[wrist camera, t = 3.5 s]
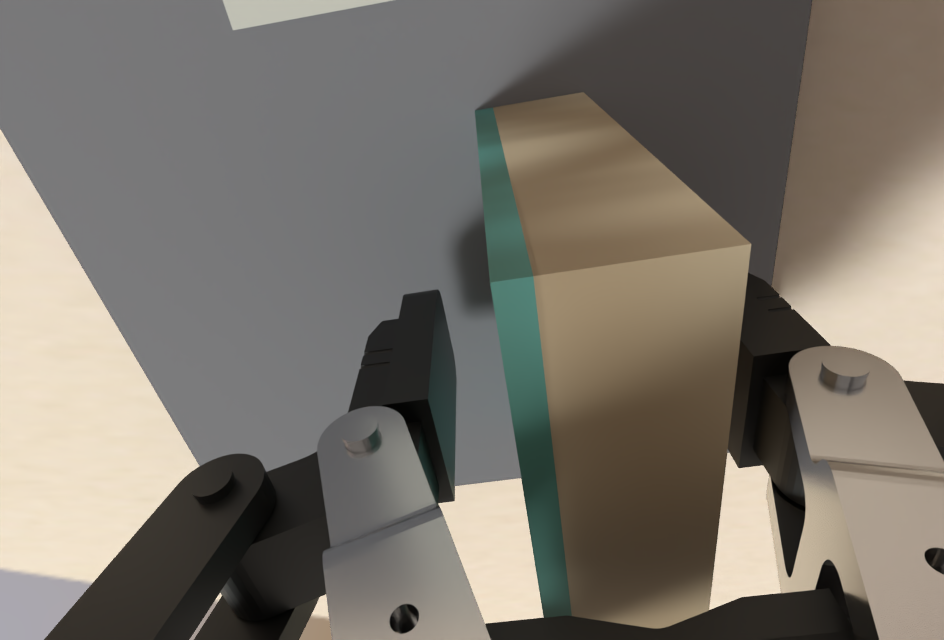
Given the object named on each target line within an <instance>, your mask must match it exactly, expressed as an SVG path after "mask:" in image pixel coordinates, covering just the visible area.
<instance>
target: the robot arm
mask: <svg viewBox="0 0 944 640" xmlns="http://www.w3.org/2000/svg"><path fill="white" fill-rule="evenodd" d="M456 384H457V378H456V366H455V358H454V352H453V348H452V343H451V338H450V334H449V329H448V324H447V320H446V315H445V311H444V306H443V301H442V297H441V294H440V291H439V290H438V289H437V290H430V291H423V292H416V293H410V294H404V295H403V298H402V304H401V309H400V314H399V319H393V320H386V321H382V322H381V323H380V324H379V325H378V326H377V327H376V328H375V329H374V331H373V332H372V333H371V334H370V335H369V336H368V340H367V343H366V347H365V351H364V355H363V358H362V362H361V369H359V373H358V377H357V380H356V384H355V388H354V391H353V395H352V399H351V403H350V406H349V410H348V413H346V414H344V415H342V416H341V417H339V418H338V419H336V420H335V421H333V422H332V423H331V424H330V425H329V426H328V427H327V428H326V429H325V430H324V432H323V433H322V435H321V436H320V439H319V441H318V445H317V452H315V453H313V454H311V455H309V456H307V457H304V458H302V459H300V460H297V461H294V462H292V463H289V464H286V465H283V466H281V467H278V468H275V469H273V470H270V471H267V472H266V470H265V468H264V466H263V464H262V463H261V461H260V460H259V459H258V458H256V457H255V456H252V455H249V454H229V455H225V456H221V457H219V458H216V459H213V460H211V461H209V462H207V463H205V464H203V465H201V466H200V467H198V468H197V469H195V470H194V471H192V472H191V473H190V474H188V475H187V476H186V477H185V478H184V479H183V480H182V481H181V482H180V483H179V484H178V485H177V486H176V487H175V489H174V490H173V491H172V492H171V493H170V494H169V495H168V497H167V498H166V499H165V500H164V501H163V502H162V504H161V505H160V506H159V507H158V508H157V509H156V511H155V512H154V513H153V514H152V515H151V516H150V518H149V519H148V520H147V521H146V522H145V523H144V524H143V526H142V527H141V528H140V529H139V530H138V531H137V533H136V534H135V535H134V536H133V537H132V538H131V540H130V541H129V542H128V543H127V544H126V545H125V546H124V548H123V549H122V550H121V551H120V552H119V553H118V555H117V556H116V557H115V558H114V559H113V560H112V562H111V563H110V564H109V565H108V566H107V567H106V568H105V570H104V571H103V572H102V573H101V574H100V575H99V577H98V578H97V579H96V580H95V581H94V582H93V584H92V585H91V586H90V587H89V588H88V589H87V590H86V592H85V593H84V594H83V595H82V596H81V597H80V599H79V600H78V601H77V602H76V603H75V604H74V606H73V607H72V608H71V609H70V610H69V611H68V613H67V614H66V615H65V616H64V617H63V618H62V619H61V621H60V622H59V623H58V624H57V625H56V627H55V628H54V629H53V630H52V631H51V632H50V633H49V635H48V636H47V637H46V638H45V639H44V640H189V639H190V638H191V636H192V635H193V633H194V631H195V630H196V628H197V627H198V625H199V624H200V622H201V621H202V619H203V618H204V616H205V615H206V613H207V611H208V610H209V608H210V607H211V605H212V604H213V602H214V601H215V599H216V598H217V596H218V595H219V593H221V594H222V597H221V599H220V600H219V602H218V603H217V605H216V606H215V608H214V609H213V611H212V612H211V614H210V616H209V617H208V619H207V620H206V622H205V623H204V625H203V626H202V628H201V630H200V631H199V633H198V634H197V636H196V637H195V639H194V640H299V638H300V636H301V634H302V632H303V630H304V628H305V626H306V624H307V622H308V620H309V618H310V616H311V614H312V612H313V610H314V608H315V606H316V604H317V601H318V599H319V597H320V596H323V595H325V594H326V595H327V604H328V612H329V620H330V628H331V635H332V640H944V384H941V383H927V382H913V381H904V380H903V379H902V377H901V376H900V374H899V372H898V371H897V370H896V369H895V368H894V367H893V366H891V365H890V364H889V363H887V362H886V361H884V360H882V359H881V358H879V357H877V356H874V355H872V354H870V353H867V352H864V351H861V350H857V349H853V348H847V347H840V346H831V345H830V344H829V343H828V342H827V341H826V340H825V339H824V338H823V337H822V336H821V335H820V334H819V333H818V332H817V331H816V330H815V329H814V328H813V327H812V326H811V325H810V324H809V323H808V322H807V321H805V320H804V319H803V318H802V317H801V316H800V315H799V314H798V313H797V312H796V311H795V310H794V309H793V310H792V309H791V306H790V305H789V304H788V303H787V302H786V301H785V300H784V299H783V298H782V297H780V298H779V294H778V293H777V292H776V291H775V290H774V289H773V288H772V287H771V286H770V285H769V284H768V283H767V282H766V281H765V280H763V279H761V278H759V277H756V276H754V275H752V274H750V273H748V277H747V286H746V295H745V303H744V312H743V320H742V329H741V338H740V346H739V355H738V363H737V372H736V381H735V389H734V398H733V407H732V415H731V424H730V432H729V441H728V450H729V452H730V454H731V456H732V457H733V459H734V461H735V463H736V464H737V466H738V468H743V467H752V466H760V465H764V467H765V469H766V470H767V472H768V473H769V480H768V485H767V502H768V509H769V515H770V522H771V529H772V535H773V542H774V549H775V555H776V562H777V569H778V575H779V582H780V589H781V593H779V594H769V595H760V596H750V597H741V598H739V599H736V600H734V601H731V602H729V603H726V604H724V605H721V606H719V607H716V608H714V609H711V610H709V611H706V612H704V613H701V614H699V615H696V616H694V617H691V618H689V619H686V620H684V621H681V622H679V623H676V624H674V625H671V626H668V627H665V628H658V629H656V628H646V627H640V626H633V625H627V624H620V623H614V622H607V621H601V620H594V619H588V618H581V617H575V616H568V615H566V616H556V617H546V618H537V619H527V620H517V621H508V622H498V623H488V624H485V623H484V620H483V618H482V615H481V613H480V610H479V607H478V605H477V602H476V599H475V597H474V594H473V592H472V589H471V586H470V584H469V581H468V579H467V576H466V573H465V571H464V568H463V565H462V563H461V560H460V558H459V555H458V552H457V550H456V547H455V545H454V542H453V539H452V537H451V534H450V531H449V529H448V526H447V524H446V521H445V518H444V516H443V513H442V511H441V509H440V507H439V505H438V503H443V502H451V501H455V442H456ZM485 625H486V626H485Z"/></svg>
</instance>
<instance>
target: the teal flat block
mask: <svg viewBox="0 0 944 640" xmlns="http://www.w3.org/2000/svg"><path fill="white" fill-rule="evenodd" d="M475 120H476V131H477V142H478V154H479V165H480V176H481V187H482V199H483V210H484V221H485V232H486V244H487V255H488V266H489V277H490V286H491V292H492V298H493V305H494V311H495V317H496V323H497V329H498V336H499V342H500V348H501V354H502V360H503V367H504V373H505V379H506V385H507V392H508V398H509V404H510V410H511V416H512V423H513V429H514V435H515V441H516V448H517V454H518V460H519V466H520V472H521V479H522V485H523V491H524V497H525V503H526V510H527V516H528V522H529V528H530V535H531V541H532V547H533V553H534V559H535V566H536V572H537V578H538V584H539V590H540V597H541V603H542V609H543V615H544V618H546V617H556V616H566V615H568V616H575V617H581V618H588V619H594V620H601V621H607V622H614V623H620V624H627V625H633V626H640V627H646V628H656V629H658V628H665V627H668V626H671V625H674V624H676V623H679V622H681V621H684V620H686V619H689V618H691V617H694V616H696V615H699V614H701V613H704V612H706V611H709V605H710V596H711V587H712V579H713V570H714V562H715V553H716V544H717V536H718V527H719V519H720V510H721V501H722V493H723V484H724V475H725V467H726V458H727V450H728V441H729V432H730V424H731V415H732V407H733V398H734V389H735V381H736V372H737V363H738V355H739V346H740V338H741V329H742V320H743V312H744V303H745V295H746V286H747V277H748V269H749V260H750V251H751V243H750V242H749V241H748V240H746V239H745V238H744V237H743V236H742V235H741V234H740V233H739V232H738V231H736V230H735V229H734V228H733V227H732V226H731V225H730V224H729V223H728V222H726V221H725V220H724V219H723V218H722V217H721V216H720V215H719V214H718V213H717V212H715V211H714V210H713V209H712V208H711V207H710V206H709V205H708V204H707V203H705V202H704V201H703V200H702V199H701V198H700V197H699V196H698V195H697V194H696V193H694V192H693V191H692V190H691V189H690V188H689V187H688V186H687V185H686V184H684V183H683V182H682V181H681V180H680V179H679V178H678V177H677V176H676V175H675V174H673V173H672V172H671V171H670V170H669V169H668V168H667V167H666V166H665V165H663V164H662V163H661V162H660V161H659V160H658V159H657V158H656V157H655V156H653V155H652V154H651V153H650V152H649V151H648V150H647V149H646V148H645V147H644V146H642V145H641V144H640V143H639V142H638V141H637V140H636V139H635V138H634V137H632V136H631V135H630V134H629V133H628V132H627V131H626V130H625V129H624V128H623V127H621V126H620V125H619V124H618V123H617V122H616V121H615V120H614V119H613V118H611V117H610V116H609V115H608V114H607V113H606V112H605V111H604V110H603V109H602V108H600V107H599V106H598V105H597V104H596V103H595V102H594V101H593V100H592V99H590V98H589V97H588V96H587V95H586V94H585V93H584V92H581V93H575V94H569V95H563V96H557V97H551V98H546V99H540V100H534V101H528V102H522V103H516V104H510V105H505V106H499V107H493V108H487V109H481V110H475Z"/></svg>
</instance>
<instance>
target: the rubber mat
mask: <svg viewBox="0 0 944 640" xmlns="http://www.w3.org/2000/svg"><path fill="white" fill-rule="evenodd" d="M811 5H812V0H0V129H1V130H2V132H3V134H4V136H5V137H6V139H7V141H8V142H9V144H10V146H11V147H12V149H13V151H14V152H15V154H16V156H17V158H18V159H19V161H20V163H21V164H22V166H23V168H24V169H25V171H26V173H27V174H28V176H29V178H30V180H31V181H32V183H33V185H34V186H35V188H36V190H37V191H38V193H39V195H40V197H41V198H42V200H43V202H44V203H45V205H46V207H47V208H48V210H49V212H50V213H51V215H52V217H53V219H54V220H55V222H56V224H57V225H58V227H59V229H60V230H61V232H62V234H63V235H64V237H65V239H66V241H67V242H68V244H69V246H70V247H71V249H72V251H73V252H74V254H75V256H76V257H77V259H78V261H79V263H80V264H81V266H82V268H83V269H84V271H85V273H86V274H87V276H88V278H89V279H90V281H91V283H92V285H93V286H94V288H95V290H96V291H97V293H98V295H99V296H100V298H101V300H102V301H103V303H104V305H105V307H106V308H107V310H108V312H109V313H110V315H111V317H112V318H113V320H114V322H115V324H116V325H117V327H118V329H119V330H120V332H121V334H122V335H123V337H124V339H125V340H126V342H127V344H128V346H129V347H130V349H131V351H132V352H133V354H134V356H135V357H136V359H137V361H138V362H139V364H140V366H141V368H142V369H143V371H144V373H145V374H146V376H147V378H148V379H149V381H150V383H151V384H152V386H153V388H154V390H155V391H156V393H157V395H158V396H159V398H160V400H161V401H162V403H163V405H164V406H165V408H166V410H167V412H168V413H169V415H170V417H171V418H172V420H173V422H174V423H175V425H176V427H177V428H178V430H179V432H180V434H181V435H182V437H183V439H184V440H185V442H186V444H187V445H188V447H189V449H190V450H191V452H192V454H193V456H194V457H195V459H196V461H197V462H198V464H199V466H201V465H203V464H205V463H207V462H209V461H211V460H213V459H216V458H219V457H221V456H225V455H229V454H249V455H252V456H255V457H256V458H258V459H259V460H260V461H261V463H262V464H263V466H264V468H265V470H266V472H267V471H270V470H273V469H275V468H278V467H281V466H283V465H286V464H289V463H292V462H294V461H297V460H300V459H302V458H304V457H307V456H309V455H311V454H313V453H315V452H317V445H318V441H319V439H320V436H321V435H322V433H323V432H324V430H325V429H326V428H327V427H328V426H329V425H330V424H331V423H332V422H333V421H335V420H336V419H338V418H339V417H341V416H342V415H344V414H346V413H348V410H349V406H350V403H351V399H352V395H353V391H354V388H355V384H356V380H357V377H358V373H359V369H361V362H362V358H363V355H364V351H365V347H366V343H367V340H368V336H369V335H370V334H371V333H372V332H373V331H374V329H375V328H376V327H377V326H378V325H379V324H380V323H381V322H382V321H386V320H393V319H399V314H400V309H401V304H402V298H403V295H404V294H410V293H416V292H423V291H430V290H437V289H438V290H439V291H440V294H441V297H442V301H443V306H444V311H445V315H446V320H447V324H448V329H449V334H450V338H451V343H452V348H453V352H454V358H455V366H456V378H457V384H456V442H455V486H459V485H467V484H475V483H484V482H492V481H500V480H508V479H516V478H521V472H520V466H519V460H518V454H517V448H516V441H515V435H514V429H513V423H512V416H511V410H510V404H509V398H508V392H507V385H506V379H505V373H504V367H503V360H502V354H501V348H500V342H499V336H498V329H497V323H496V317H495V311H494V305H493V298H492V292H491V286H490V277H489V266H488V255H487V244H486V232H485V221H484V210H483V199H482V187H481V176H480V165H479V154H478V142H477V131H476V120H475V110H481V109H487V108H493V107H499V106H505V105H510V104H516V103H522V102H528V101H534V100H540V99H546V98H551V97H557V96H563V95H569V94H575V93H581V92H584V93H585V94H586V95H587V96H588V97H589V98H590V99H592V100H593V101H594V102H595V103H596V104H597V105H598V106H599V107H600V108H602V109H603V110H604V111H605V112H606V113H607V114H608V115H609V116H610V117H611V118H613V119H614V120H615V121H616V122H617V123H618V124H619V125H620V126H621V127H623V128H624V129H625V130H626V131H627V132H628V133H629V134H630V135H631V136H632V137H634V138H635V139H636V140H637V141H638V142H639V143H640V144H641V145H642V146H644V147H645V148H646V149H647V150H648V151H649V152H650V153H651V154H652V155H653V156H655V157H656V158H657V159H658V160H659V161H660V162H661V163H662V164H663V165H665V166H666V167H667V168H668V169H669V170H670V171H671V172H672V173H673V174H675V175H676V176H677V177H678V178H679V179H680V180H681V181H682V182H683V183H684V184H686V185H687V186H688V187H689V188H690V189H691V190H692V191H693V192H694V193H696V194H697V195H698V196H699V197H700V198H701V199H702V200H703V201H704V202H705V203H707V204H708V205H709V206H710V207H711V208H712V209H713V210H714V211H715V212H717V213H718V214H719V215H720V216H721V217H722V218H723V219H724V220H725V221H726V222H728V223H729V224H730V225H731V226H732V227H733V228H734V229H735V230H736V231H738V232H739V233H740V234H741V235H742V236H743V237H744V238H745V239H746V240H748V241H749V242H750V243H751V251H750V260H749V269H748V273H750V274H752V275H754V276H756V277H759V278H761V279H763V280H765V281H766V282H767V283H768V284H769V285H770V286H771V285H772V278H773V271H774V264H775V257H776V250H777V243H778V236H779V229H780V222H781V215H782V208H783V201H784V194H785V187H786V180H787V173H788V166H789V159H790V152H791V145H792V138H793V131H794V124H795V117H796V110H797V103H798V96H799V89H800V82H801V75H802V68H803V61H804V54H805V47H806V40H807V33H808V26H809V19H810V12H811ZM727 453H730V452H729V450H727Z"/></svg>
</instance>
